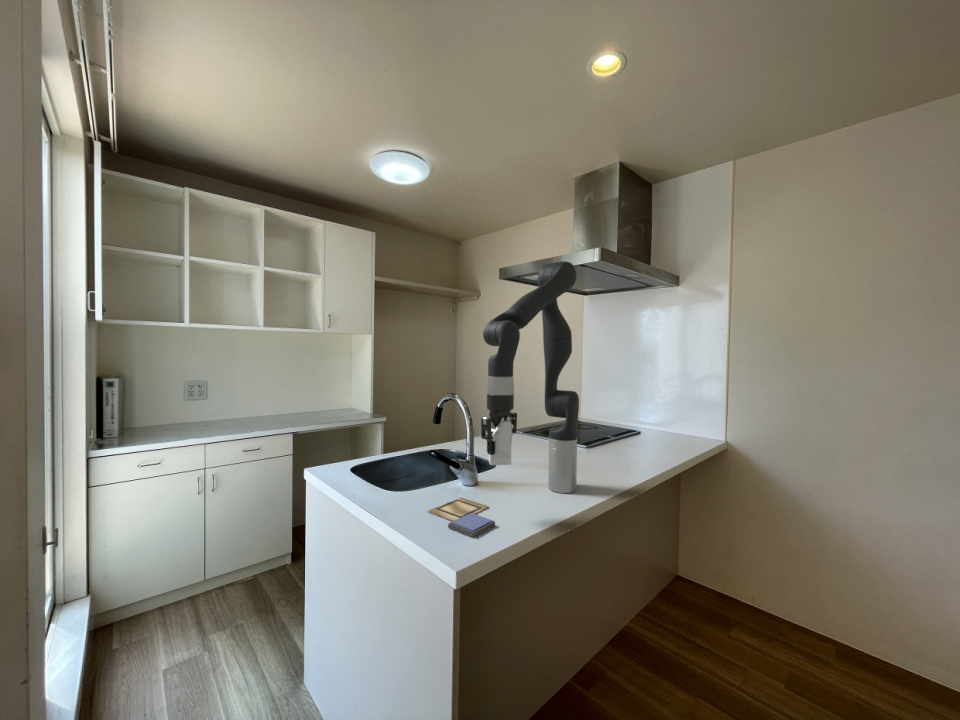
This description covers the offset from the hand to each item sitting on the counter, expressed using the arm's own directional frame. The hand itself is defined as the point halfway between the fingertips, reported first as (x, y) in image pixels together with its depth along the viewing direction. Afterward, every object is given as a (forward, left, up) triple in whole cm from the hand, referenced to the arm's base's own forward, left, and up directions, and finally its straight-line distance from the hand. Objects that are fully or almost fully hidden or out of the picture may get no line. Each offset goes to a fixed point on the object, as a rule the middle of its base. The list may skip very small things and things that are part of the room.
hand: (499, 451), depth 109 cm
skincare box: (0, 0, -4) cm, 4 cm away
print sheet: (+4, -11, -18) cm, 22 cm away
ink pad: (+10, -1, -18) cm, 21 cm away
